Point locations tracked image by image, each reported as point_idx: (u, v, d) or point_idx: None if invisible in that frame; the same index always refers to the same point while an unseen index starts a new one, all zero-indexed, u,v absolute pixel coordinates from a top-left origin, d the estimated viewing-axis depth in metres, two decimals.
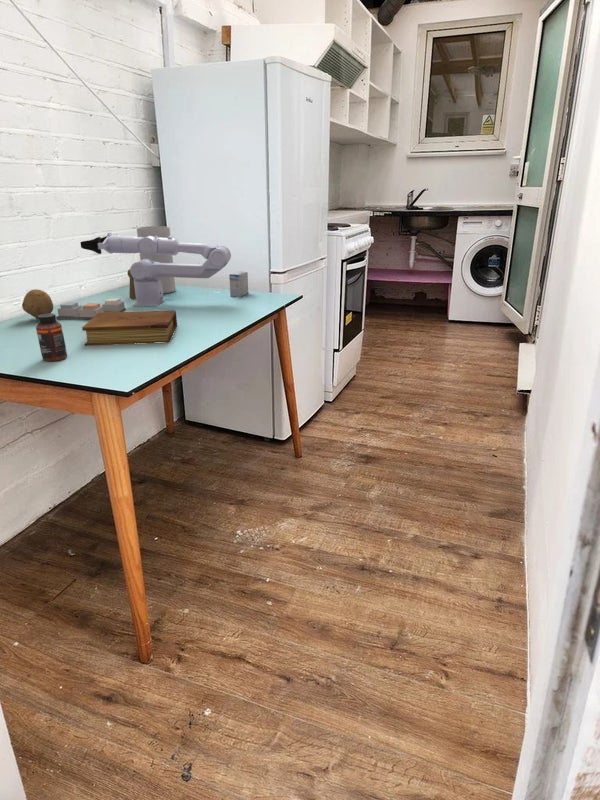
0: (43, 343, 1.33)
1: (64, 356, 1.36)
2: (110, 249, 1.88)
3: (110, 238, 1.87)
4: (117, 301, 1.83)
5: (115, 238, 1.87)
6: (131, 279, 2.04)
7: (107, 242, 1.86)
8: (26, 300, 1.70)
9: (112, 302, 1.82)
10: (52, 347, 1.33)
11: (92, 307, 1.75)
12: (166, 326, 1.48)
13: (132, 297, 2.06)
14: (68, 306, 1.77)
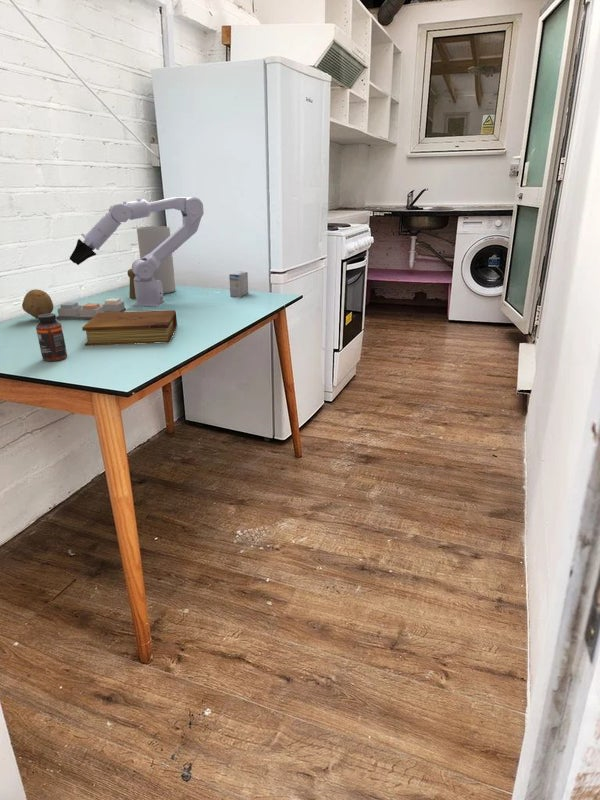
0: (43, 343, 1.33)
1: (64, 356, 1.36)
2: (95, 243, 1.80)
3: (87, 235, 1.80)
4: (117, 301, 1.83)
5: (90, 231, 1.80)
6: (131, 279, 2.04)
7: (88, 239, 1.79)
8: (26, 300, 1.70)
9: (112, 302, 1.82)
10: (52, 347, 1.33)
11: (92, 307, 1.75)
12: (166, 326, 1.48)
13: (132, 297, 2.06)
14: (68, 306, 1.77)
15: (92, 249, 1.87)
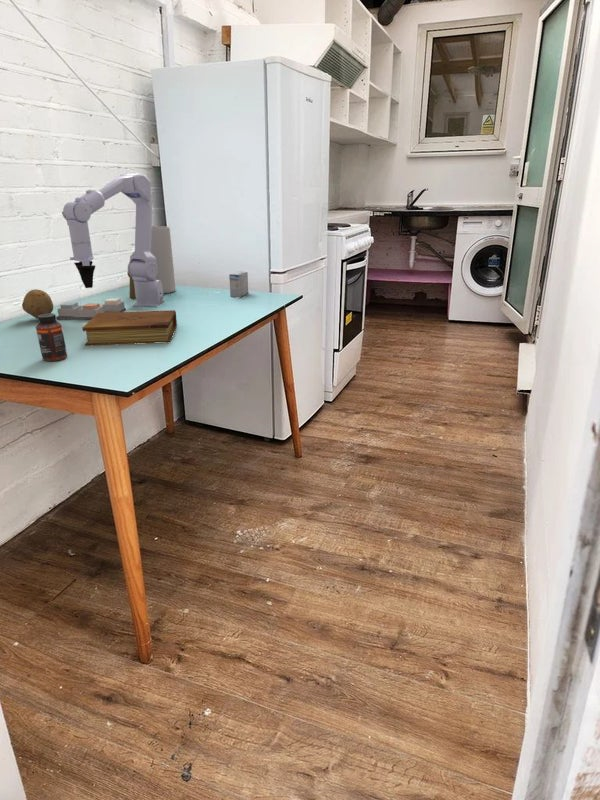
0: (43, 343, 1.33)
1: (64, 356, 1.36)
2: (88, 256, 1.70)
3: (76, 256, 1.69)
4: (117, 301, 1.83)
5: (75, 250, 1.68)
6: (131, 279, 2.04)
7: (81, 258, 1.68)
8: (26, 300, 1.70)
9: (112, 302, 1.82)
10: (52, 347, 1.33)
11: (92, 307, 1.75)
12: (166, 326, 1.48)
13: (132, 297, 2.06)
14: (68, 306, 1.77)
15: None
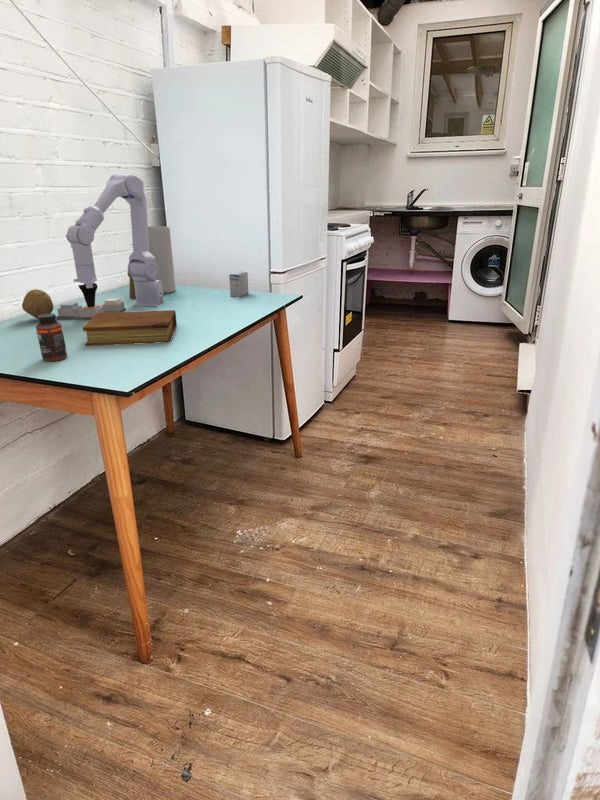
0: (43, 343, 1.33)
1: (64, 356, 1.36)
2: (92, 277, 1.72)
3: (79, 277, 1.71)
4: (117, 301, 1.83)
5: (78, 272, 1.71)
6: (131, 279, 2.04)
7: (84, 280, 1.71)
8: (26, 300, 1.70)
9: (112, 302, 1.82)
10: (52, 347, 1.33)
11: None
12: (167, 326, 1.48)
13: (132, 297, 2.06)
14: (68, 306, 1.77)
15: None
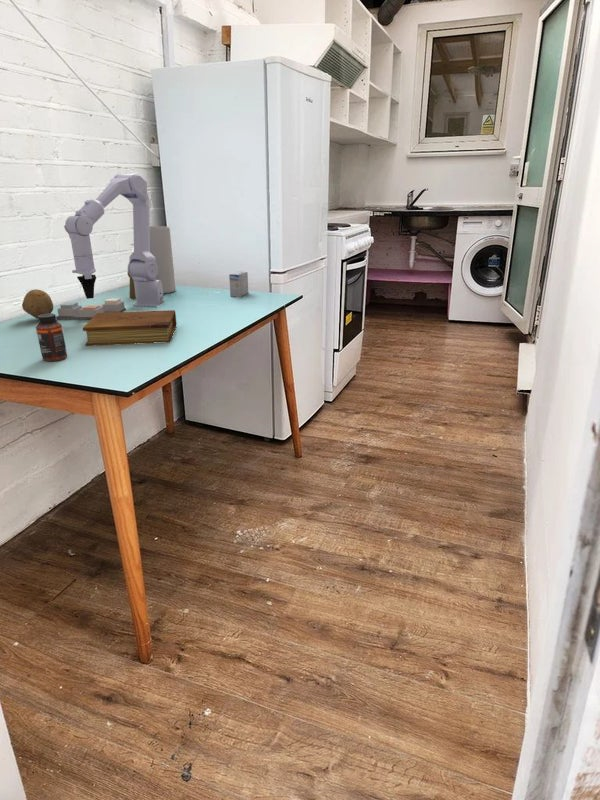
0: (43, 343, 1.33)
1: (64, 356, 1.36)
2: (90, 268, 1.71)
3: (78, 269, 1.70)
4: (117, 301, 1.83)
5: (77, 263, 1.70)
6: (131, 279, 2.04)
7: (83, 271, 1.70)
8: (26, 300, 1.70)
9: (112, 302, 1.82)
10: (52, 347, 1.33)
11: None
12: (167, 326, 1.48)
13: (132, 297, 2.06)
14: (68, 306, 1.77)
15: None
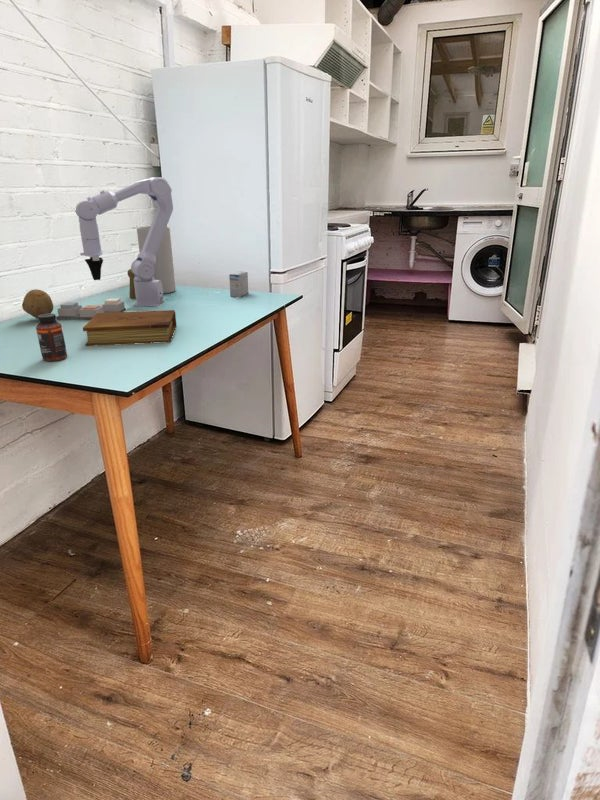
0: (43, 343, 1.33)
1: (64, 356, 1.36)
2: (98, 251, 1.81)
3: (86, 251, 1.80)
4: (117, 301, 1.83)
5: (85, 246, 1.79)
6: (131, 279, 2.04)
7: (91, 254, 1.80)
8: (26, 300, 1.70)
9: (112, 302, 1.82)
10: (52, 347, 1.33)
11: None
12: (167, 326, 1.48)
13: (132, 297, 2.06)
14: (68, 306, 1.77)
15: None
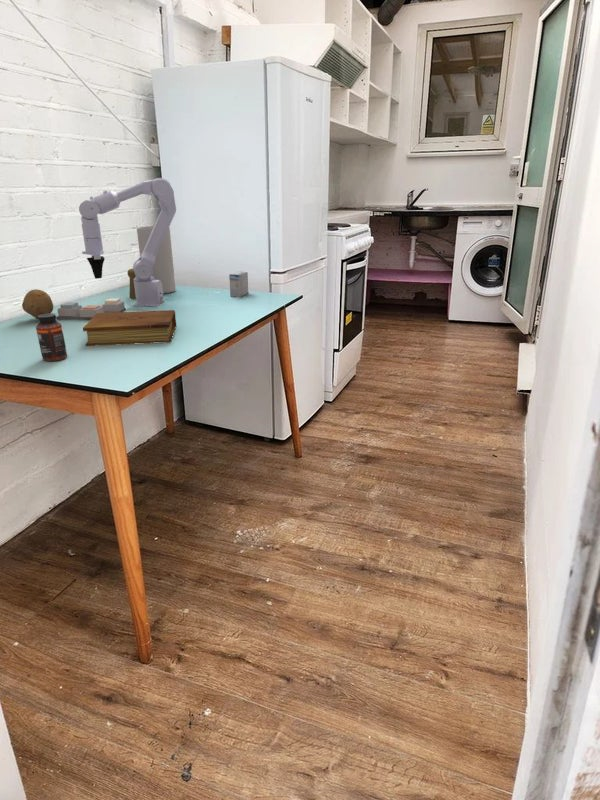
0: (43, 343, 1.33)
1: (64, 356, 1.36)
2: (99, 250, 1.84)
3: (88, 250, 1.83)
4: (117, 301, 1.83)
5: (87, 245, 1.82)
6: (131, 279, 2.04)
7: (92, 252, 1.82)
8: (26, 300, 1.70)
9: (112, 302, 1.82)
10: (52, 347, 1.33)
11: None
12: (167, 326, 1.48)
13: (132, 297, 2.06)
14: (68, 306, 1.77)
15: None
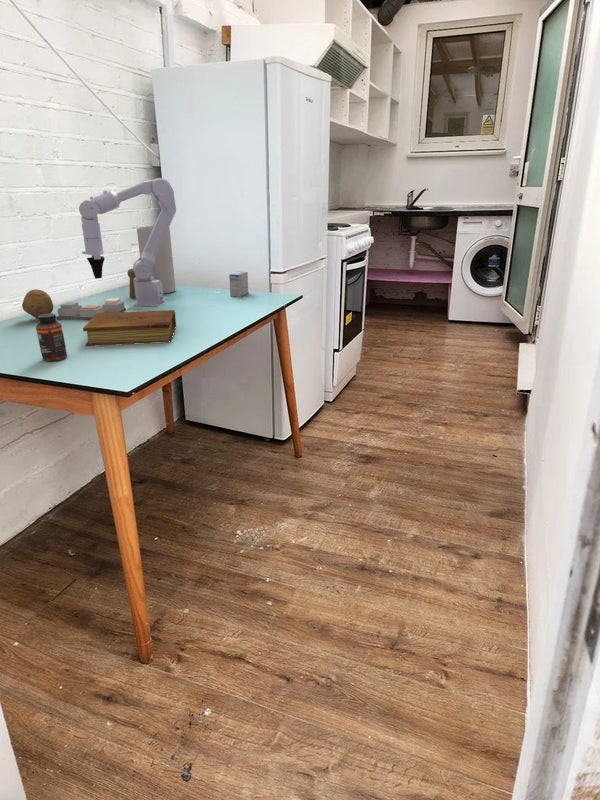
0: (43, 343, 1.33)
1: (64, 356, 1.36)
2: (99, 250, 1.84)
3: (88, 250, 1.83)
4: (117, 301, 1.83)
5: (87, 245, 1.82)
6: (131, 279, 2.04)
7: (92, 252, 1.82)
8: (26, 300, 1.70)
9: (112, 302, 1.82)
10: (52, 347, 1.33)
11: None
12: (167, 326, 1.48)
13: (132, 297, 2.06)
14: (68, 306, 1.77)
15: None
